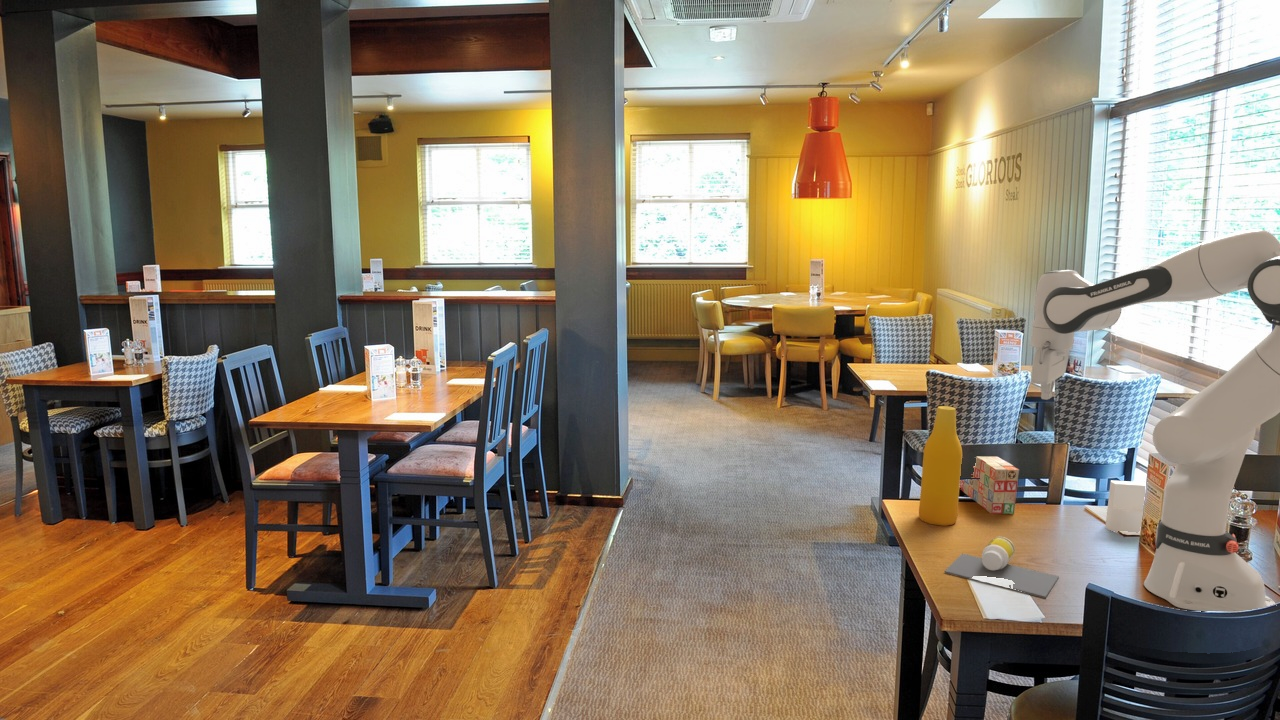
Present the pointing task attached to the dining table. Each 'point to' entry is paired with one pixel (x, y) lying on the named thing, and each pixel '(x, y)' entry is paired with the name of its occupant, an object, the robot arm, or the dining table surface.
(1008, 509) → the stack of blocks
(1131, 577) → the dining table surface
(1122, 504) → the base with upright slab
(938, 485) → the yellow bottle
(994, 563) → the supplement bottle
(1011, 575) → the charcoal mat
